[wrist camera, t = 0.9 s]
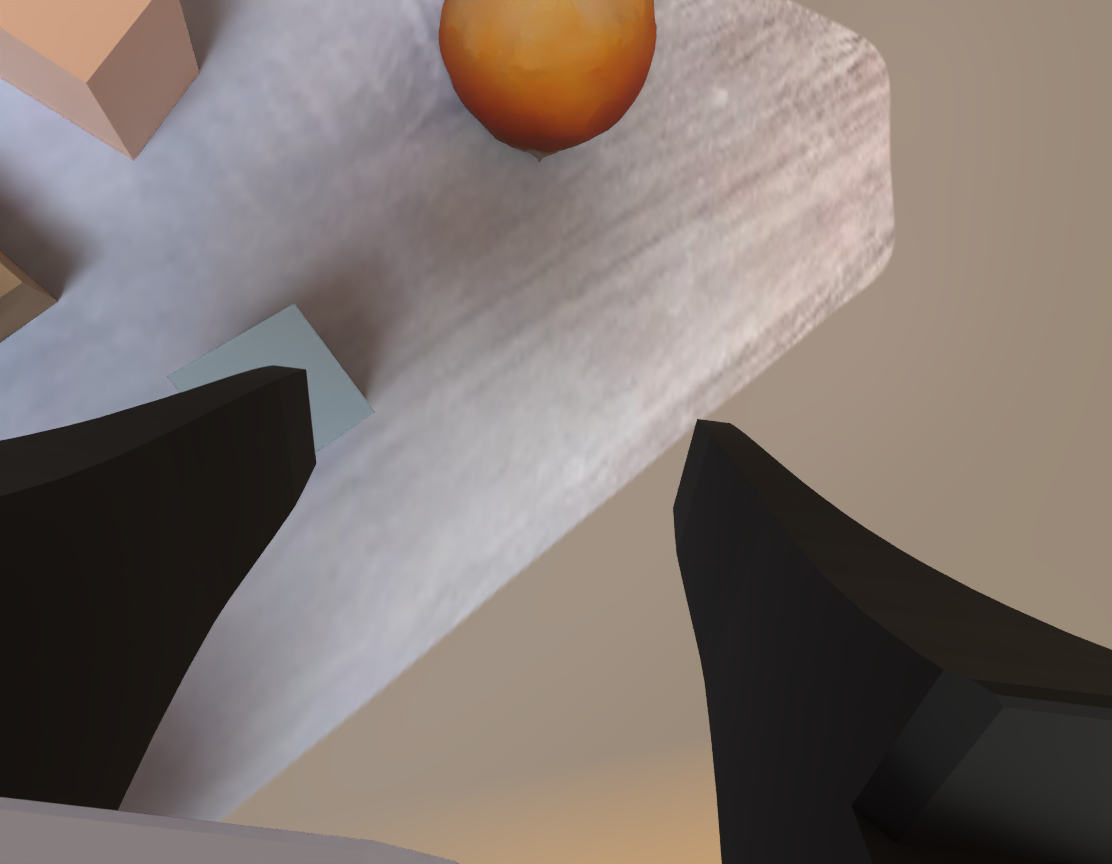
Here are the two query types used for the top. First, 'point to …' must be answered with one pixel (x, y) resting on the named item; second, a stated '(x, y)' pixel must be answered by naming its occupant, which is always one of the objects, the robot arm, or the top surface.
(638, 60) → the fruit
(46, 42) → the terracotta block
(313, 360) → the grayish teal block
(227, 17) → the top surface
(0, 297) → the walnut block
